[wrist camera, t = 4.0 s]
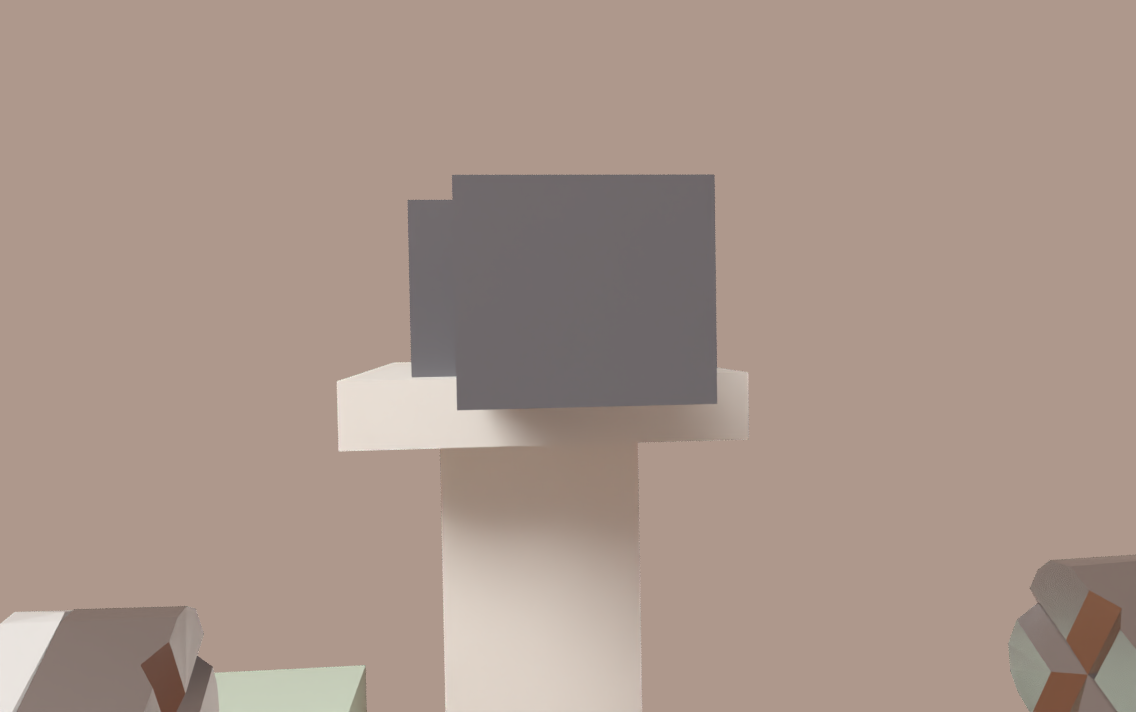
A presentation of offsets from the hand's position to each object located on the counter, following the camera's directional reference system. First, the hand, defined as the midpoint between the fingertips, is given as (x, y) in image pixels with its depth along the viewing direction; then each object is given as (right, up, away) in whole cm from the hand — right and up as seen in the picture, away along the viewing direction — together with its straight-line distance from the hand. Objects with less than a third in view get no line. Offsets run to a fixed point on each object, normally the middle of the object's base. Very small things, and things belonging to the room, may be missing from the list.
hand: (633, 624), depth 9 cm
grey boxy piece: (-1, +2, +13) cm, 13 cm away
